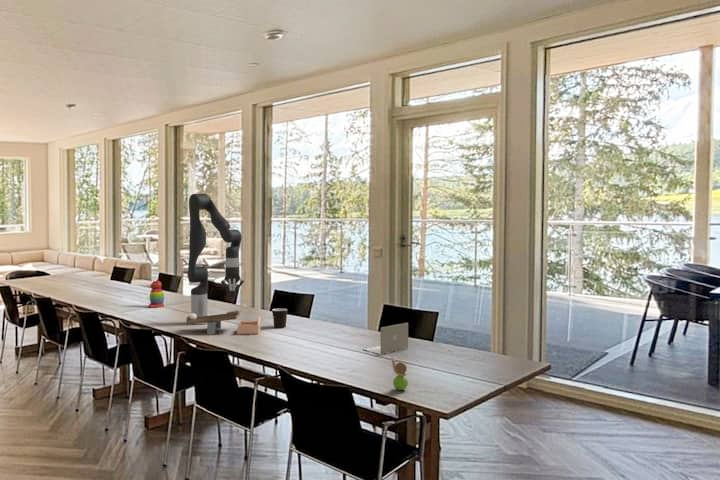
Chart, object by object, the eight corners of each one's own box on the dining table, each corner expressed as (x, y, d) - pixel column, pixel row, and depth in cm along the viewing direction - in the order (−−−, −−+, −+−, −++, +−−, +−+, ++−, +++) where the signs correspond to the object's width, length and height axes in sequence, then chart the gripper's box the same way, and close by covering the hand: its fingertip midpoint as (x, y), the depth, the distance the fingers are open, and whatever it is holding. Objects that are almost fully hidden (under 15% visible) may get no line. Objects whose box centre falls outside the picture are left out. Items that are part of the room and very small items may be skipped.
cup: (239, 330, 318) (239, 315, 318) (260, 330, 319) (260, 315, 319) (236, 334, 308) (236, 319, 307) (258, 334, 308) (258, 319, 308)
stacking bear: (148, 305, 399) (148, 280, 398) (164, 305, 402) (164, 279, 401) (148, 308, 389) (147, 281, 388) (164, 307, 392) (163, 281, 391)
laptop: (389, 345, 286) (390, 318, 286) (408, 349, 277) (408, 322, 276) (362, 350, 275) (362, 323, 274) (380, 355, 265) (381, 327, 264)
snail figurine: (395, 386, 218) (395, 354, 217) (410, 389, 214) (410, 357, 214) (387, 390, 213) (388, 357, 213) (403, 393, 210) (403, 360, 209)
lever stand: (213, 328, 324) (213, 316, 324) (220, 328, 324) (220, 316, 324) (207, 334, 307) (207, 322, 307) (215, 334, 307) (214, 322, 307)
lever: (193, 321, 322) (192, 313, 322) (240, 316, 323) (239, 308, 323) (187, 326, 308) (186, 318, 308) (236, 321, 309) (235, 312, 309)
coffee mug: (284, 329, 322) (284, 311, 322) (269, 328, 324) (269, 310, 323) (291, 325, 334) (291, 307, 333) (277, 324, 335) (276, 307, 335)
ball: (191, 321, 313) (188, 314, 313) (198, 318, 314) (195, 311, 313) (190, 322, 309) (187, 315, 309) (197, 319, 310) (194, 312, 309)
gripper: (245, 265, 323) (245, 296, 323) (221, 265, 322) (221, 296, 323) (243, 266, 315) (243, 298, 316) (218, 266, 315) (219, 298, 315)
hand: (232, 297), depth 319 cm, fingers closed
